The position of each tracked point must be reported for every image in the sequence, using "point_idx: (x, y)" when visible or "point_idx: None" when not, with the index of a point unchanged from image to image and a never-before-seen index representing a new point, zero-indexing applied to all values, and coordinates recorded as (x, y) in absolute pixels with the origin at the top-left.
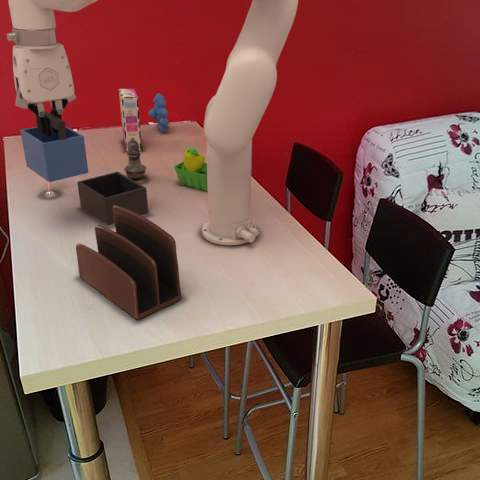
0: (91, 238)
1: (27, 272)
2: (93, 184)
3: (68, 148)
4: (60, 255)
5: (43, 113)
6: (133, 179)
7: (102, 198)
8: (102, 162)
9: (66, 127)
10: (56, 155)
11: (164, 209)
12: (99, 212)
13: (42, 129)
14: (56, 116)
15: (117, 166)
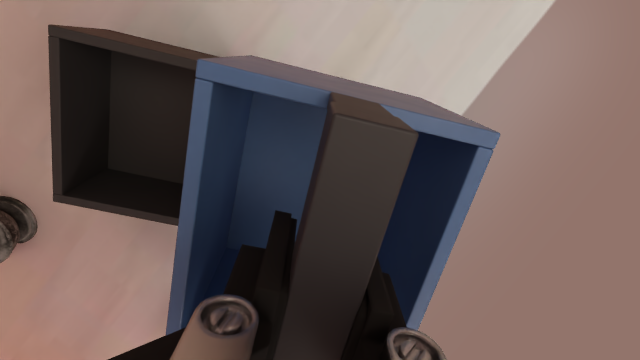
0: (300, 49)
1: (501, 33)
2: (154, 204)
3: (327, 84)
4: (405, 39)
5: (396, 357)
6: (15, 221)
7: None
8: (23, 350)
9: (182, 280)
10: (400, 100)
11: (48, 20)
12: None
13: (388, 277)
14: (281, 293)
15: (4, 312)
